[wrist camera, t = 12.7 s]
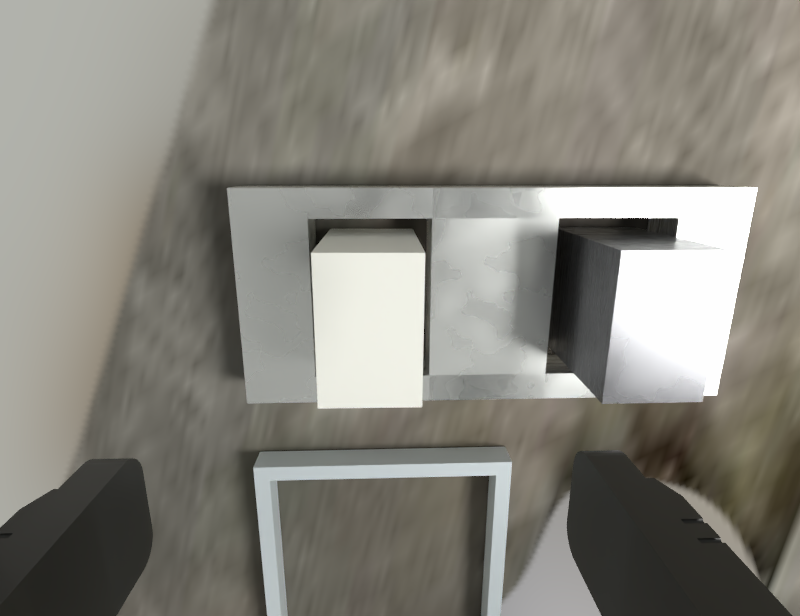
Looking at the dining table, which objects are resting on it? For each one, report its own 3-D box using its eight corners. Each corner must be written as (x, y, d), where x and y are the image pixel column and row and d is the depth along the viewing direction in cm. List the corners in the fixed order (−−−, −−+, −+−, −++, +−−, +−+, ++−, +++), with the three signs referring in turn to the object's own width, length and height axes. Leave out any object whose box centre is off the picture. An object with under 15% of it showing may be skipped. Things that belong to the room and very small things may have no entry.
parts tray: (505, 446, 27) (512, 462, 26) (492, 634, 31) (497, 657, 30) (260, 451, 27) (253, 467, 25) (277, 642, 31) (271, 665, 29)
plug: (412, 228, 24) (425, 252, 17) (411, 343, 26) (422, 407, 19) (330, 228, 24) (311, 252, 17) (334, 344, 25) (317, 408, 19)
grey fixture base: (719, 185, 24) (852, 192, 17) (686, 374, 27) (789, 444, 20) (242, 185, 23) (185, 193, 16) (259, 381, 26) (217, 456, 19)
